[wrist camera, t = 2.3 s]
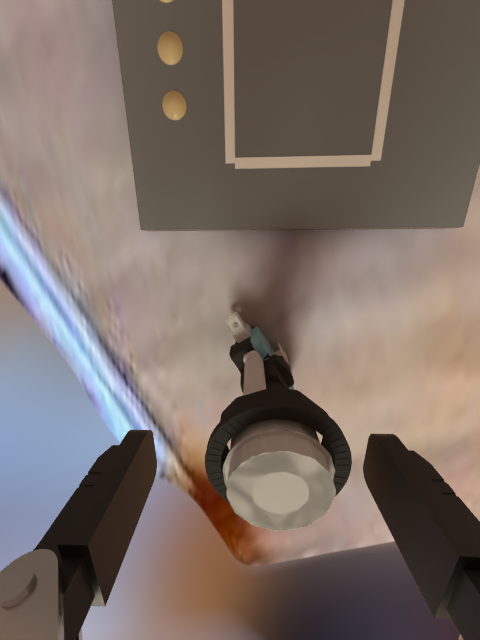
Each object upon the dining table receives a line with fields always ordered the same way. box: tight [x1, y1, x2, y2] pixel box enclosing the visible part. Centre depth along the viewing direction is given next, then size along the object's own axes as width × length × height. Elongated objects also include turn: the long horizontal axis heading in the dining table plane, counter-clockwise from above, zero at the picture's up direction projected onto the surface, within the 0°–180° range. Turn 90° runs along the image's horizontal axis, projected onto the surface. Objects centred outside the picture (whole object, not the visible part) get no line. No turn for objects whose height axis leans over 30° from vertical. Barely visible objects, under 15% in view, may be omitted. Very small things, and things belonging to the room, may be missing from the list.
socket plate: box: [112, 0, 480, 231], centre depth 12 cm, size 18×16×1 cm
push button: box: [205, 312, 352, 531], centre depth 12 cm, size 7×5×10 cm
